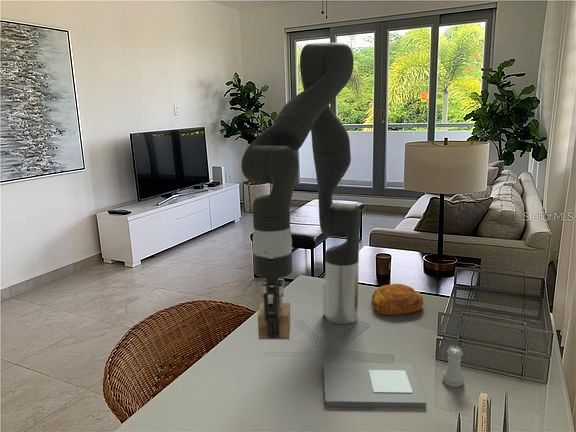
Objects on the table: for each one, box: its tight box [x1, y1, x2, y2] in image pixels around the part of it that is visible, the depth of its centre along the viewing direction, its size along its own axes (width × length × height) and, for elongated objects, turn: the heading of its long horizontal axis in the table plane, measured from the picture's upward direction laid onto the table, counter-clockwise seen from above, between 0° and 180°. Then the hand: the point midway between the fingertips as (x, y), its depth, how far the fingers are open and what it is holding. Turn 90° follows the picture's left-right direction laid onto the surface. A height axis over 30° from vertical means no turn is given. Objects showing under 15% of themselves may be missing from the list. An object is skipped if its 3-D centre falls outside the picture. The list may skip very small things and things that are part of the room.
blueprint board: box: [323, 362, 427, 409], centre depth 97 cm, size 20×14×1 cm
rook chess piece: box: [442, 345, 465, 388], centre depth 97 cm, size 4×4×8 cm
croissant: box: [371, 283, 424, 316], centre depth 135 cm, size 14×16×8 cm
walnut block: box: [257, 302, 291, 340], centre depth 90 cm, size 6×6×5 cm
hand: (274, 328), depth 91 cm, fingers closed on walnut block, 6 cm apart
